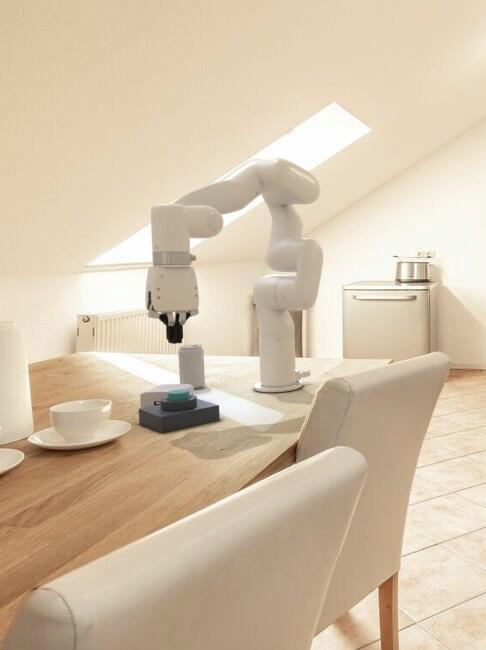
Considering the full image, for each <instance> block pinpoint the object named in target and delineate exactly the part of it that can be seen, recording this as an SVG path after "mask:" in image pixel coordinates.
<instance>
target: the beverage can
mask: <svg viewBox="0 0 486 650" xmlns="http://www.w3.org/2000/svg"><path fill="white" fill-rule="evenodd" d="M177 355H178V370H179V371H178V372H179V384H190V385H192V386H193V387H194V390H199V389H203V387H204V386H205V385H206V376H205V357H204V348H203V345H202V344H184V345H180V346H179V349H178V353H177Z"/></svg>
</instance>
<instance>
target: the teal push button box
mask: <svg viewBox="0 0 486 650" xmlns="http://www.w3.org/2000/svg"><path fill="white" fill-rule="evenodd" d="M160 403H161V405H156V406H151V407H145V408H141V407H140V408H138V424H139V425H141V426H144V427H146V428H148V429H150V430H153V431H157V432H158V433H161V434H164V433H168V432H172V431H176V430H181V429H186V428H191V427H195V426H200V425H204V424H209V423H212V422H218V421H220V420H221V418H220V417H221V416H220V404H217V403H213V402H211V401H210V402H209V401H206V400H204V399H200V398H198V396H197V395H195V394H194V395H190V398H189V399H186V400H181V401H168V397H165V398H162V399H161V401H160Z"/></svg>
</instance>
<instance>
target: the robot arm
mask: <svg viewBox="0 0 486 650" xmlns="http://www.w3.org/2000/svg"><path fill="white" fill-rule="evenodd" d="M320 193H321V186H320V183H319V180H318V179H317V177H316V176H315V175H314V174H313V173H311V172H310V171H308V170H306V169H305V168H303V167H301V166H300V165H299V164H296V163H294V162H292V161H290V160H288V159H286V158H281V157H269V158H253V159H250V160H248V161H245V162H244V163H242V164H241V165H239V166H238V167H237V168H235V169H234V170H233V171H231V172H230V173H229V174H227V175H226V176H224V177H223V178H221V179H219V180H217V181H215V182H212V183H209V184H207V185H204V186H202V187H199V188H197V189H195V190H191V191H189V192H187V193H185V194H183V195H181V196H179V197H177V198H176V199H175V200H174V201H172V202H171V203H168V202H167V203H166V202H161V203H155V204H153V205H152V206H151V208H150V228H151V251H152V252H151V253H152V255H151V256H152V266H148V269H147V275H146V282H145V301H144V302H145V309H146V310H147V311H148V312H147V317H148V318H150V319H156V320H159V321H160V322H161V323H162V324H163V325H164V326H165V335H166V340H167V342H168V344H172V345H176V344H182V343H183V339H184V326H185V324H186V322H187V321H188V320H189V319H190V318H192V317H195V316H197V315H199V313H200V312H199V305H200V295H199V285H198V279H197V274H196V270H195V267H194V266H192V264H193V263H192V262H196V261H197V256H196V255H194V254H192V252H191V239H210V238H214V237H217V236H218V235H219V234H220V233H221V232H222V230H223V228H224V218H223V215H229V214H232V213H236V212H239V211H241V210H243V209H245V208H246V207H247V206H249V205H250V204H251V203H252V202H253V201H255V200H256V199H257V198H258V197H260V196H261V197H262V199H263V201H264V203H265V204H266V206H267V208H268V211H269V213H270V216H271V229H270V234H269V238H268V244H267V248H266V249H267V250H266V255H265V258H266V259H265V262H266V265H267V267H268V268H269V269H270V270H271V271H273V272H278V273H296V274H295V275H287V274H286V275H285V274H271V275H270V274H269V275H264V276H261V277H259V279H257V281H255V283H254V285H253V288H252V293H253V294H252V296H253V300H254V305H255V309H256V314H257V325H258V349H259V350H258V351H259V377H260V379H259V380H260V382H257V383H255V384H254V390H255V391H257V392H259V393H260V392H261V393H285V392H291V391H295V390H298V389H300V388H302V386H303V384H302V383H303V382H302V381H301V379H302V378H308V377H310V376H311V370H309V369H306V370H300V369H297V367H296V339H295V337H296V336H295V322H294V320H293V318H292V316H291V314H290V312H289V311H308V310H310V309H312V308H313V307H314V305H316V302H317V299H318V294H319V289H320V284H321V283H320V282H321V278H322V273H323V272H322V271H323V266H324V251H323V248H322V245H321V244H320V242H318V241H317V240H316V239H313V238H310V237H309V238H308V237H306V238H305V237H303V231H304V222H303V220H302V217H301V216H300V215H301V214H300V213H299V212H298V211H297V210H296V208H295V205H310V204H313V203H315V202H316V201H317V200H318V199H319V197H320Z"/></svg>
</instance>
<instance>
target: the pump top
mask: <svg viewBox="0 0 486 650" xmlns="http://www.w3.org/2000/svg"><path fill="white" fill-rule="evenodd" d="M189 398H190V395H189V390H186V389H179V390H172V391H169V392H168V401H181V400H186V399H189Z"/></svg>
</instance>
